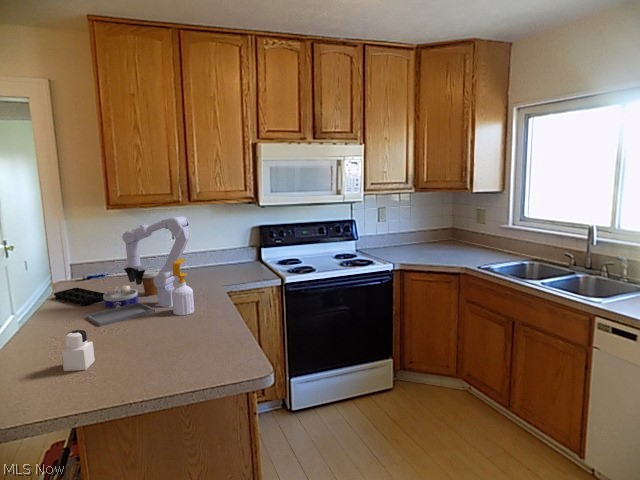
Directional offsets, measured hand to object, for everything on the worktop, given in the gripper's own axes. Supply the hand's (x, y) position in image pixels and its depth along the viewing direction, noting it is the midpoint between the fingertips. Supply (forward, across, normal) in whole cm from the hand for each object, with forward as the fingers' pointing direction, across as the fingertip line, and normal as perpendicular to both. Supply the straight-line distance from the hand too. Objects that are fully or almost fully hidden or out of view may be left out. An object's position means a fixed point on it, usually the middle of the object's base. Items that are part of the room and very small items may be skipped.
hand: (135, 283), depth 214 cm
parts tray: (+10, +13, -13) cm, 21 cm away
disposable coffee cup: (+11, -10, +12) cm, 19 cm away
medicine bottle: (+10, +54, -44) cm, 71 cm away
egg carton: (+11, -30, -16) cm, 36 cm away
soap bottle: (+10, +30, +8) cm, 33 cm away
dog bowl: (+11, -5, -6) cm, 13 cm away
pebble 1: (+5, -7, -8) cm, 12 cm away
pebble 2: (+5, -4, -4) cm, 7 cm away
